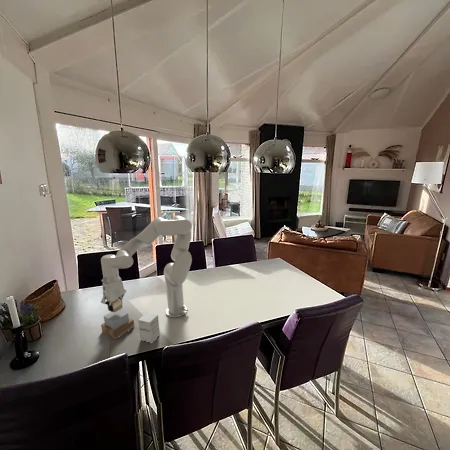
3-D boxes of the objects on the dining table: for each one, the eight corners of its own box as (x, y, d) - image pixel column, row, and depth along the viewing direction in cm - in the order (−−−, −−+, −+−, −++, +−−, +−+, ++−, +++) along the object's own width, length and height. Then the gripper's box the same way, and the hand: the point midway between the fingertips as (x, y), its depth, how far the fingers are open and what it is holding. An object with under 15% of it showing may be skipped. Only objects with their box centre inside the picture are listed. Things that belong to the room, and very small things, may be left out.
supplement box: (140, 341, 134) (137, 319, 130) (149, 332, 140) (146, 311, 137) (152, 344, 131) (149, 322, 128) (160, 335, 138) (158, 314, 135)
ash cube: (122, 308, 141) (121, 299, 140) (114, 312, 137) (113, 304, 136) (116, 305, 144) (115, 297, 143) (108, 309, 140) (107, 301, 139)
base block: (134, 327, 145) (133, 320, 144) (115, 340, 135) (114, 332, 134) (121, 321, 151) (120, 313, 150) (102, 332, 142) (101, 324, 141)
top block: (129, 321, 143) (127, 313, 142) (114, 329, 136) (112, 321, 135) (119, 316, 148) (118, 308, 147) (104, 324, 141) (103, 316, 140)
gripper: (100, 286, 127) (105, 318, 131) (129, 273, 141) (133, 303, 145) (91, 282, 131) (97, 314, 135) (121, 270, 145) (124, 299, 149)
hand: (115, 308), depth 140 cm, fingers closed on ash cube, 5 cm apart
